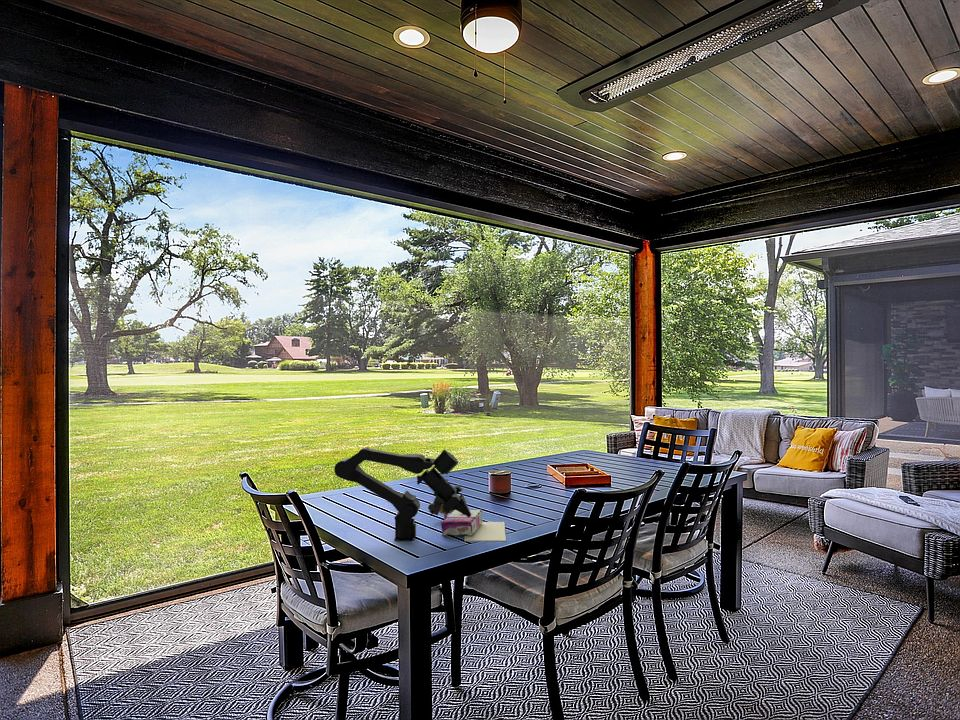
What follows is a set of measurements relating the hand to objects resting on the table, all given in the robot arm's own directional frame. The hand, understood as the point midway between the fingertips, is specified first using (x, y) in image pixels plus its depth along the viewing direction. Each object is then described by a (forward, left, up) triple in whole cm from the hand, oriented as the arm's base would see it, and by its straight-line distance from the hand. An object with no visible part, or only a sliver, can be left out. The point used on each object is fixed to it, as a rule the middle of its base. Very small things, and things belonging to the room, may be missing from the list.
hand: (470, 516), depth 195 cm
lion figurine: (-8, +21, -8) cm, 24 cm away
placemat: (+5, +8, -8) cm, 12 cm away
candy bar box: (-5, +2, -5) cm, 7 cm away
